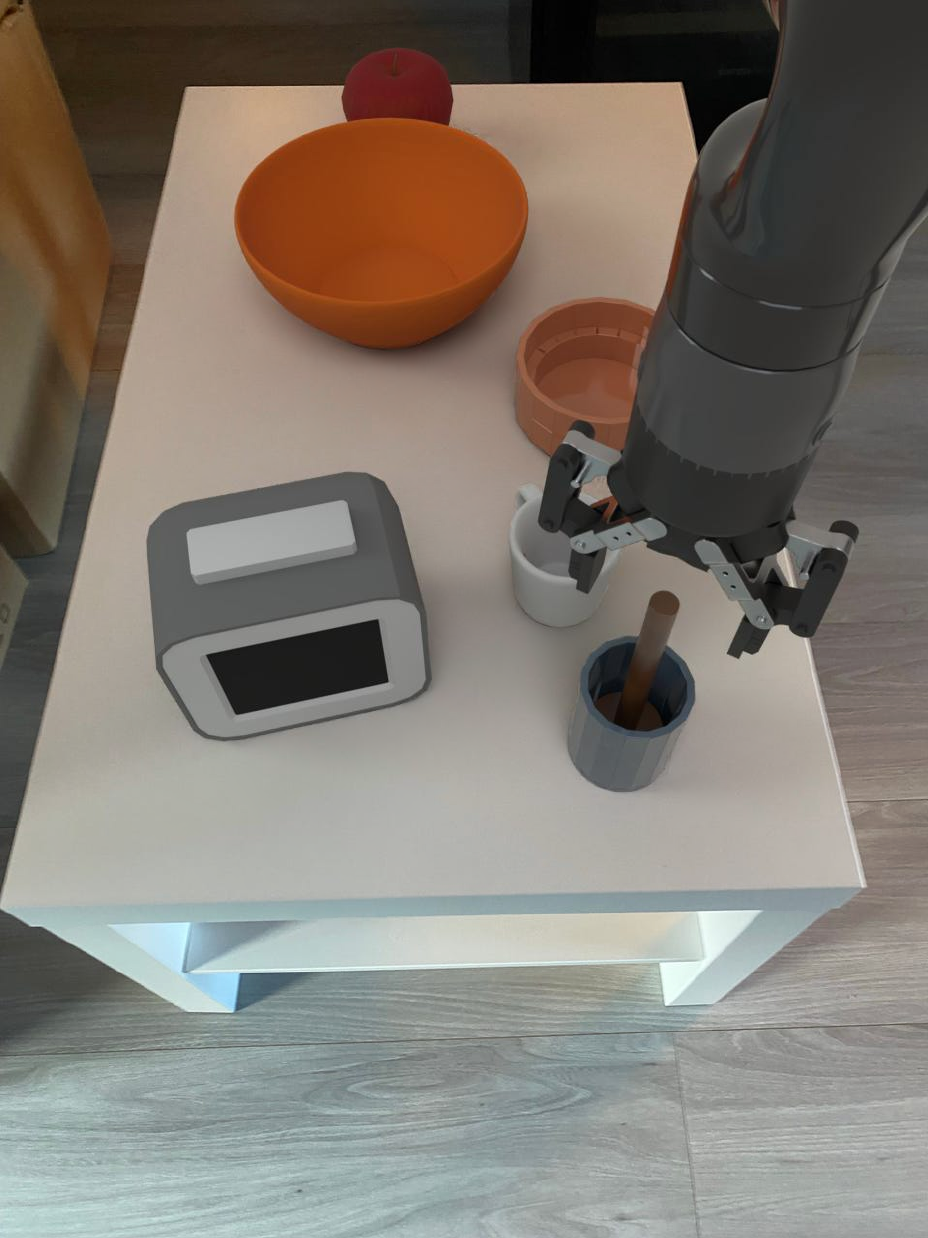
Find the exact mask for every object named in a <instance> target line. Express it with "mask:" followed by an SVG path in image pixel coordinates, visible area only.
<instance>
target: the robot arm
mask: <svg viewBox="0 0 928 1238" xmlns="http://www.w3.org/2000/svg"><path fill="white" fill-rule="evenodd" d="M761 2H762V4H763V6H764V7H765V9H766V11H767V13H768V15H769V17H770V19H771V21H772V23H773V24H774V26H775V28H776V30H777V31H778V39H777V40H778V41H777V48H776V49H777V50H776V56H775V57H776V58H775V63H774V64H775V65H774V71H773V75H772V81H771V85H770V89H769V92H768V95H767V97H765V98H762V99H759V100H756V101H753V102H751V103H748V104H747V105H745V106H743V107H741V108H740V109H738V110H737V111H735V112H733V113H731V114H730V115H729V116H727V117H726V118H725V120H723V121H722V122H721V123H720V124H719V125H718V126H717V127H715V129H714V130H713V132H712V133H711V134H710V136H709V138H708V140H707V141H706V142H705V144H704V145H703V146H702V149H701V150H700V153H699V155H698V158H697V161H696V163H695V166H694V168H693V170H692V173H691V175H690V179H689V181H688V186H687V189H686V193H685V195H684V199H683V205H682V209H681V213H680V218H679V223H678V227H677V232H676V235H675V240H674V246H673V250H672V255H671V260H670V264H669V268H668V273H667V279H666V281H665V285H664V289H663V292H662V295H661V297H660V300H659V302H658V305H657V307H656V310H655V311H656V312H655V314H654V317H653V320H652V323H651V326H650V330H649V333H648V337H647V341H646V345H645V348H644V350H643V351H642V353H641V357H640V362H639V367H638V372H637V378H638V383H637V388H636V393H635V398H634V402H633V407H632V411H631V416H630V421H629V426H628V430H627V435H626V440H625V445H624V448H623V449H622V450H621V451H620V452H619V451H617V450H615V449H613V448H610V447H608V446H606V445H603V444H601V443H599V442H597V441H594V438H595V429H594V428H593V426H592V425H591V424H590V423H588V422H586V421H584V420H576V421H574V422H573V423H572V425H571V427H570V428H569V430H568V431H567V433H566V434H565V436H564V437H563V439H562V441H561V442H560V444H559V445H558V447H557V449H556V450H555V452H554V454H553V455H552V456H550V458H549V459H550V460H549V462H548V468H547V473H546V477H545V483H544V487H543V497H542V502H541V507H540V512H539V517H538V524H539V525H540V527H541V528H542V529H544V530H545V531H547V532H550V533H557V532H558V531H559V530H560V531H561V532H563V533H564V534H566V535H567V536H568V537H569V538H570V540H569V544H570V546H571V547H572V551H571V557H570V563H569V569H568V572H569V575H570V577H571V578H573V579H575V580H577V584H576V590H578V591H581V592H583V593H585V594H589V592H590V591H591V589H592V587H593V585H594V583H595V581H596V580H597V578H598V576H599V574H600V572H601V570H602V568H603V565H604V561H605V556H606V551H607V548H608V549H609V550H610V551H614V550H616V549H619V548H622V547H623V548H626V547H628V546H632V545H634V544H637V543H639V542H642V541H643V542H644V543H646V545H645V548H647V549H649V550H652V551H654V552H656V553H658V554H661V555H666V556H670V557H674V558H677V559H679V560H680V561H682V562H684V563H686V564H687V565H689V566H691V567H692V568H695V569H698V570H699V571H701V572H704V573H708V571H709V570H711V572H712V573H713V574H712V575H714V577H715V579H716V581H717V582H718V584H719V586H720V588H721V589H722V591H723V592H724V595H726V597H727V599H728V601H731V602H738V604H739V605H740V607H741V609H742V611H743V613H744V614H743V616H742V618H741V621H740V622H739V624H738V627H737V629H736V631H735V633H734V636H733V637H732V640H731V641H730V644H729V647H728V649H727V652H726V655H728V656H730V657H732V658H735V659H736V660H740V659H741V656H742V655H743V652H744V653H746V654H748V655H750V656H754V655H755V654H757V653H759V652H760V650H761V648H762V646H763V645H764V642H765V641H766V639H767V637H768V635H769V633H770V632H771V630H772V629H773V627H775V626H787V627H788V630H789V632H790V633H792V634H793V635H795V636H797V637H799V638H803V639H809V638H812V637H814V636H815V634H816V632H817V630H818V628H819V626H820V623H821V621H822V619H823V617H824V615H825V613H826V611H827V609H828V607H829V604H830V603H831V601H832V599H833V597H834V595H835V593H836V590H837V589H838V587H839V584H840V582H841V580H842V579H843V576H844V573H845V571H846V569H847V566H848V564H849V561H850V558H851V556H852V553H853V550H854V548H855V546H856V543H857V540H858V538H859V535H860V529H859V527H858V526H857V525H856V524H855V523H853V522H851V521H849V520H846V519H845V520H843V519H840V520H835V521H834V522H832V523H831V525H830V527H829V529H828V530H827V529H825V528H821V527H819V526H816V525H812V524H809V523H806V522H803V521H800V520H797V515H796V512H795V508H794V503H795V500H796V498H797V497H798V494H799V493H800V490H801V488H802V485H803V484H804V482H805V479H806V477H807V475H808V473H809V471H810V469H811V466H812V465H813V462H814V461H815V458H816V456H817V454H818V451H819V450H820V448H821V445H822V443H823V442H824V439H825V438H826V437H827V436H828V434H829V433H830V431H831V430H832V429H833V426H834V422H835V420H836V414H837V412H838V410H839V408H840V405H841V404H842V401H843V400H844V397H845V395H846V394H847V393H846V392H847V390H848V388H849V385H850V383H851V380H852V378H853V375H854V372H855V368H856V366H857V363H858V362H857V361H858V358H859V352H860V349H861V346H862V343H863V340H864V338H865V335H866V333H867V331H868V329H869V327H870V324H871V322H872V320H873V318H874V315H875V313H876V311H877V309H878V307H879V305H880V303H881V300H882V298H883V296H884V294H885V292H886V290H887V288H888V285H889V283H890V281H891V280H892V277H893V275H894V272H895V270H896V269H897V266H898V264H899V261H900V259H901V257H902V255H903V252H904V250H905V247H906V245H907V242H908V240H909V238H910V237H911V236H912V235H913V233H914V232H915V231H916V230H917V228H919V226H920V225H921V224H922V223H923V221H924V220H925V219H926V218H927V217H928V0H761ZM599 476H601V477H605V478H606V484H607V488H608V489H609V491H610V493H611V495H609V496H607V497H604V498H603V499H599V500H600V501H597V502H595V503H593V504H591V505H590V506H588V505H587V504H586V503H584V502H583V501H581V500H580V499H578V498H579V495H580V492H581V491H582V488H583V484H589V483H591V482H592V481H593V480H594V479H595V477H599ZM581 493H582V492H581ZM785 548H786V549H787V550H789V551H790V552H791V553H793V555H794V556H795V564H796V566H797V568H798V569H799V570H800V571H799V573H798V577H799V579H801V580H802V581H806V582H805V585H804V586H803V587H804V588H799V587H794V586H790V584H789V582H788V580H787V578H786V576H785V574H784V572H783V570H782V569H781V566H780V565H779V563H778V560H777V558H778V554H779V553H780V552H781V551H783V550H784V549H785Z"/></svg>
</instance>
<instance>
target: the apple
mask: <svg viewBox="0 0 928 1238" xmlns="http://www.w3.org/2000/svg"><path fill="white" fill-rule="evenodd" d="M451 84H452V83H451V81H450V78H449V76H448V73H447V71H446V67H444V66H443V65H442V64H441V63H440V62H439V61H438V60H437V59H436V58H434V57H432V56H430V55H429V54H427V53H425V52H424V51H420V50H417V49H413V48H406V47H392V48H384V49H381V50H377V51H373V52H371V53H369V54H367V55H366V56H364V57H362V58H361V59H360V60H359V61H357V63H356V64H354V65H353V66H352V67H351V69H350V71H349V73H348V74H347V76H346V78H345V81H344V85H343V89H342V93H341V98H340V99H341V105H342V109H343V110H342V111H343V113H344V116H345V119H346V122H349V121H355V120H362V119H374V118H405V119H416V120H423V121H429V122H434V123H438V124H443V125H447V126H450V122H451V118H452V117H451V116H452V112H453V106H454V93H453V88H452V85H451Z"/></svg>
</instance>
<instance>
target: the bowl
mask: <svg viewBox="0 0 928 1238" xmlns="http://www.w3.org/2000/svg"><path fill="white" fill-rule="evenodd" d="M529 209H530V208H529V198H528V193H527V190H526V186H525V184H524V182H523V179H522V177H521V176H520V174H519V172H518V170H517V169H516V168H515V167H514V165H513V164H512V163H511V162H510V160H509V159H508V158H506V156H505V155H503V153H501V152H500V151H499V150H497V148H495V147H493V146H492V145H490V144H489V143H488V142H486V141H485V140H483V139H481V138H479V137H477V136H475V135H473V134H471V133H469V132H466V131H464V130H462V129H459V128H455V127H452V126H450V125H449V126H447V125H443V124H438V123H434V122H429V121H423V120H416V119H405V118H374V119H362V120H355V121H349V122H347V121H345V122H339V123H335V124H332V125H328V126H324V127H321V128H318V129H315V130H313V131H310V132H307V133H305V134H302V135H299V136H298V137H296V138H294V139H292V140H289V141H288V142H287V143H285V144H283V145H281V146H279V147H278V148H277V149H276V150H273V152H271V153H270V154H269V155H267V156H266V157H265V158H264V159H263V160H262V161H260V163H258V165H256V166H255V167H254V168H253V170H252V171H251V172H250V173H249V175H248V176H247V178H246V179H245V181H244V183H243V184H242V186H241V188H240V190H239V192H238V195H237V198H236V202H235V204H234V214H233V223H234V224H233V225H234V230H235V231H234V232H235V236H236V239H237V243H238V245H239V247H240V250H241V252H242V255H243V257H244V260H245V261H246V263H247V265H248V266H249V268H250V269H251V270H252V273H253V274H254V276H255V277H256V278H257V280H258V282H259V283H260V284H261V285H262V286H263V287H264V289H265V290H266V291H267V292H268V294H270V295H271V296H272V297H273V298H274V300H276V301H277V302H278V303H279V304H280V305H281V306H282V307H283V308H284V309H286V310H287V311H288V312H290V313H291V314H292V315H294V316H295V317H296V318H298V319H299V320H300V321H303V322H304V323H306V324H307V325H309V326H311V327H313V328H315V329H317V330H319V331H321V332H322V333H325V334H328V335H330V336H332V337H335V338H338V339H340V340H344V341H346V342H349V343H351V344H354V345H357V346H360V347H364V348H369V349H377V350H378V349H379V350H393V349H394V350H395V349H396V350H397V349H403V348H409V347H413V346H416V345H419V344H423V343H425V342H428V341H430V340H432V339H434V338H436V337H437V336H439V335H441V334H442V333H444V332H446V331H448V330H450V329H452V328H453V327H455V326H456V325H458V324H460V323H461V322H463V321H464V320H465V319H467V318H468V317H470V316H471V315H472V314H474V313H475V312H476V311H477V310H478V309H479V308H480V307H481V306H483V304H484V303H486V302H487V300H489V299H490V298H491V297H492V295H493V294H494V293H495V292H496V291H497V290H498V288H499V287H500V285H501V284H502V283H503V282H504V280H505V278H506V277H507V276H508V274H509V272H510V271H511V269H512V267H513V265H514V263H515V262H516V259H517V257H518V255H519V252H521V251H520V250H521V248H522V245H523V242H524V239H525V235H526V232H527V227H528V221H529Z"/></svg>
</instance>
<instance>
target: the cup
mask: <svg viewBox="0 0 928 1238" xmlns="http://www.w3.org/2000/svg"><path fill="white" fill-rule="evenodd" d="M543 492H544V490H543V489H542V488H541V487H540V485H538V484H537V483H536V482H528V483H525V484H522V485H520V486H518V488H517V489H516V494H515V507H516V512H515V514H514V515H513V517H512V518H511V521H510V524H509V528H508V548H509V557H510V565H511V573H512V582H513V589H514V593H515V596H516V597H515V598H516V599H517V602H518V603H519V604H518V605H519V606H520V607H521V609H522V610H523V612H525V614H526V615H528V617H530V618H531V619H532V620H534V621H536V622H538V623H539V624H542V625H544V626H549V627H553V628H555V627H556V628H566V627H572V626H575V625H578V624H580V623H583V622H584V621H586V620H587V619H588V618H590V617H591V616H592V615H593V614H594V613H595V612H596V611H597V610H598V608H599V607H600V606H601V603H602V602H603V600H604V597H605V595H606V592H607V590H608V588H609V585H610V583H611V580H612V578H613V576H614V574H615V571H616V569H617V566H618V564H619V561H620V559H621V557H622V554H623V551H624V547H622V548H619V549H616V550H614V551H610V550H609V549H608V548H607V551H606V556H605V561H604V565H603V568H602V570H601V572H600V574H599V576H598V578H597V580H596V581H595V583H594V585H593V587H592V589H591V591H590V592H589V594H585V593H583V592H581V591H578V590H576V584H577V580H575V579H573V578H571V577H570V575H569V572H568V569H569V563H570V557H571V551H572V547H571V546H570V544H569V540H570V538H569V537H568V536H567V535H566V534H564V533H563V532H561V531H560V530H559V531H558V532H557V533H550V532H547V531H545V530H544V529H542V528H541V527H540V525H539V524H538V517H539V512H540V507H541V502H542V497H543ZM578 499H580V500H581V501H583V502H584V503H586V504H587V505H588V506H590V505H591V504H593V503H595V502H597V501H600V500H601V499H599V498H596V497H595V496H593V495H590V494H588V493H585V492H580V495H579V498H578Z"/></svg>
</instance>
